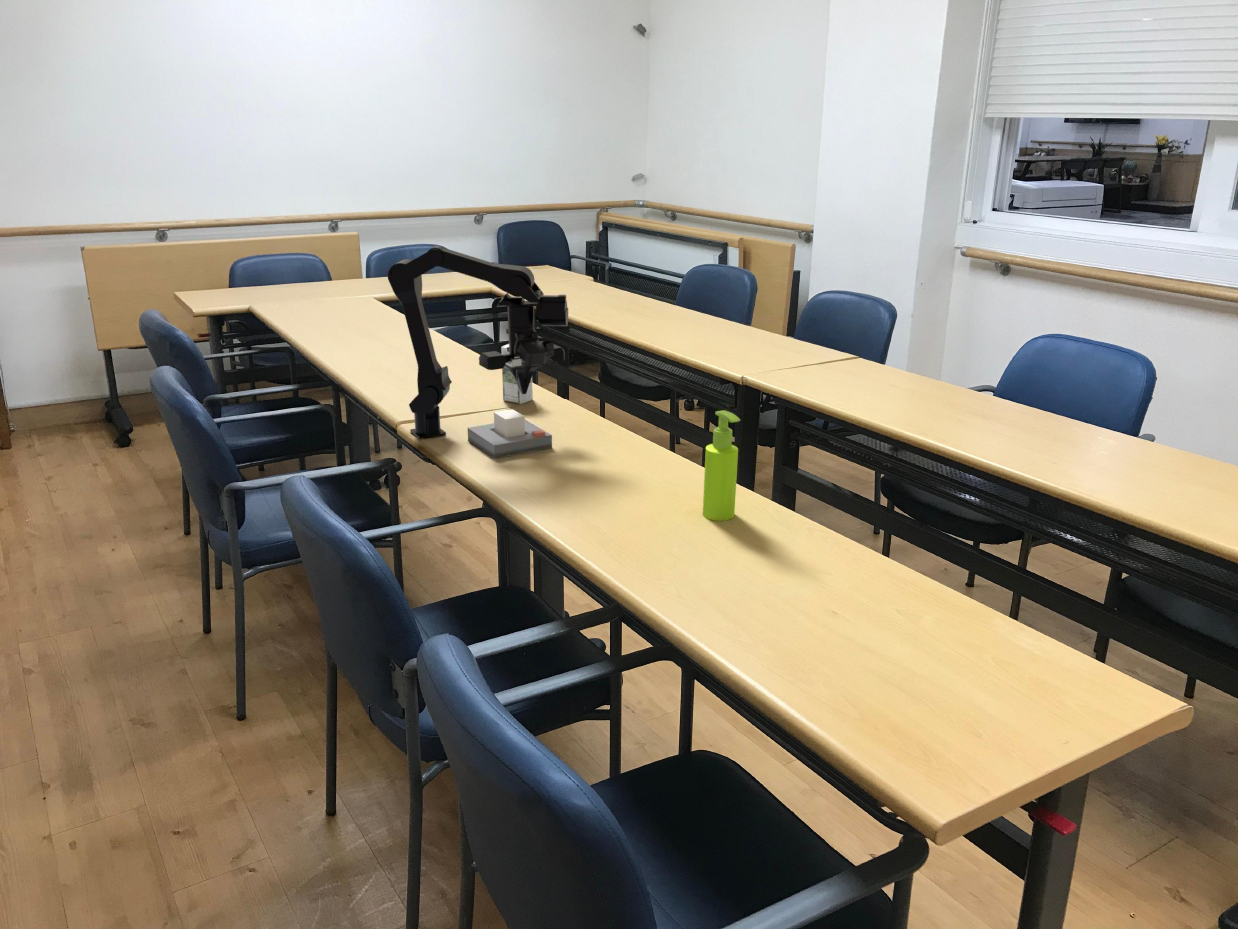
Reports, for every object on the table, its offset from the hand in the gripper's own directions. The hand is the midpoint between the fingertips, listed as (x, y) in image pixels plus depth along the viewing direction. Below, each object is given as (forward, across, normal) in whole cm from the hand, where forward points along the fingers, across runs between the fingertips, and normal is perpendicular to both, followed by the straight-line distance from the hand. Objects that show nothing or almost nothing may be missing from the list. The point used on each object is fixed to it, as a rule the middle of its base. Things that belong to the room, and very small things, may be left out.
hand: (523, 393), depth 215 cm
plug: (+9, -5, -3) cm, 11 cm away
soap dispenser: (+11, +12, -59) cm, 61 cm away
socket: (+10, -5, -3) cm, 12 cm away
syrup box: (+10, +11, +27) cm, 31 cm away
